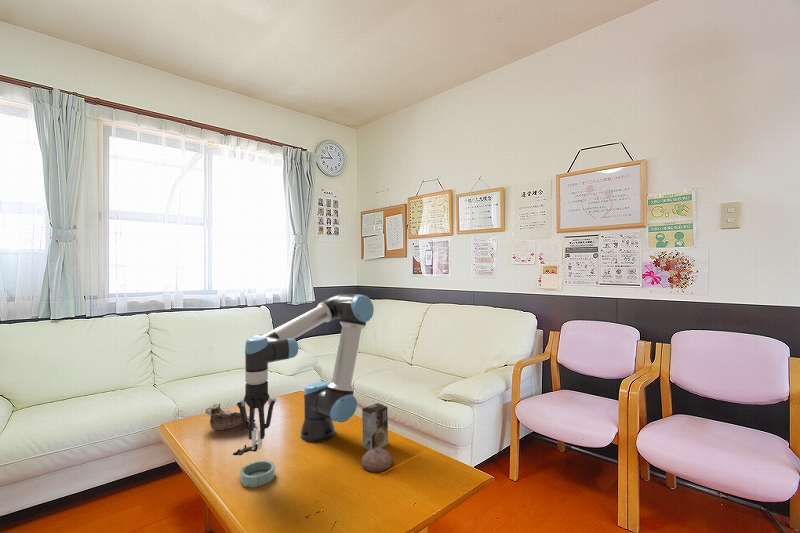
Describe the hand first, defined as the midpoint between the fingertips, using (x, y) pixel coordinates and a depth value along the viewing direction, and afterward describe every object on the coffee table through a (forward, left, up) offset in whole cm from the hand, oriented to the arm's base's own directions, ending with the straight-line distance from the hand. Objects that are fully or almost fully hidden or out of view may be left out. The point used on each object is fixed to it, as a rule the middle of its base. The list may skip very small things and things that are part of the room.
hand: (256, 447), depth 136 cm
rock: (+25, -48, -12) cm, 55 cm away
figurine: (-1, -2, 0) cm, 2 cm away
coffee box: (-43, -19, -11) cm, 49 cm away
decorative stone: (-44, 0, -13) cm, 46 cm away
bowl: (0, 0, -11) cm, 11 cm away
